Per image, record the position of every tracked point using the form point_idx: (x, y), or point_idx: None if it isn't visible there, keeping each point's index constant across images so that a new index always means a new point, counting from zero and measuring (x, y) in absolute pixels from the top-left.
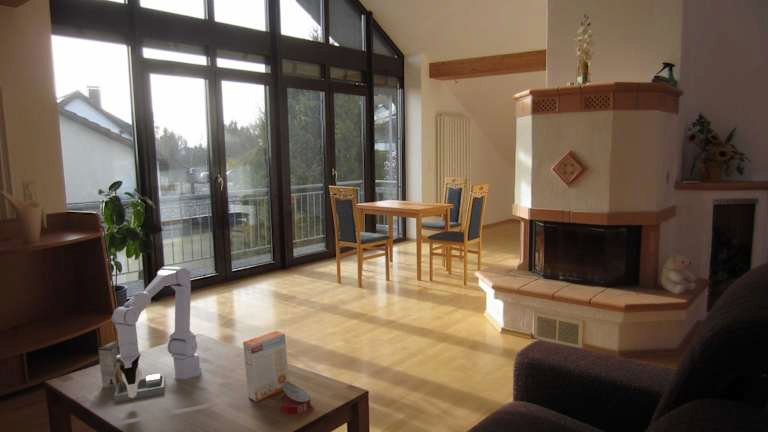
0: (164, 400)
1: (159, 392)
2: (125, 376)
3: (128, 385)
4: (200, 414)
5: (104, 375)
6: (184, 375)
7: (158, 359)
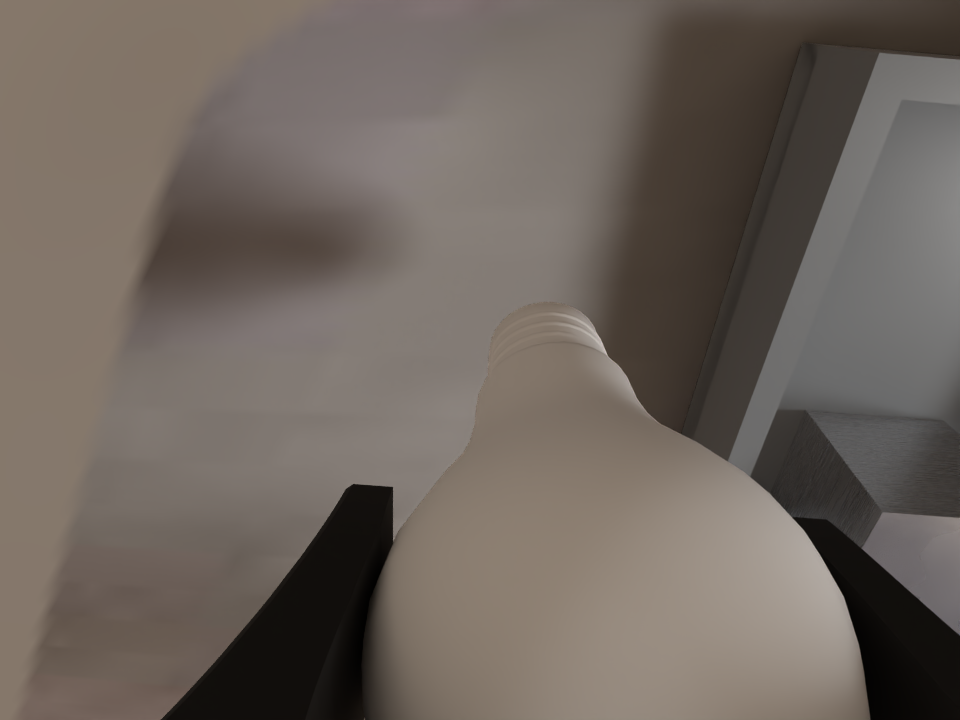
0: None
1: None
2: (210, 675)
3: (471, 440)
4: (194, 659)
5: None
6: None
7: None
